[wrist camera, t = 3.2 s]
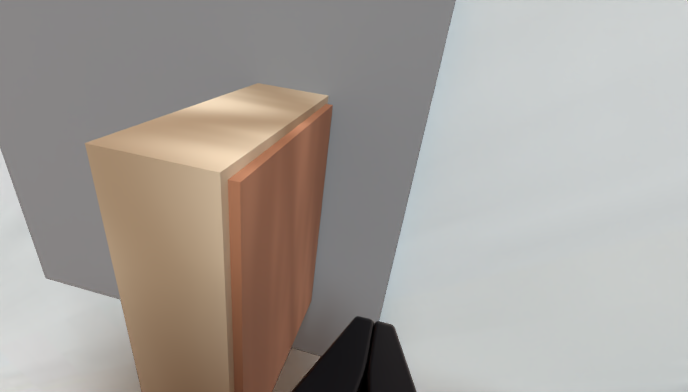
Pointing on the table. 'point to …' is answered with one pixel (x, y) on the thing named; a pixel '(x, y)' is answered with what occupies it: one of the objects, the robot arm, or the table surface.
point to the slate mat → (210, 82)
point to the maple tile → (215, 234)
